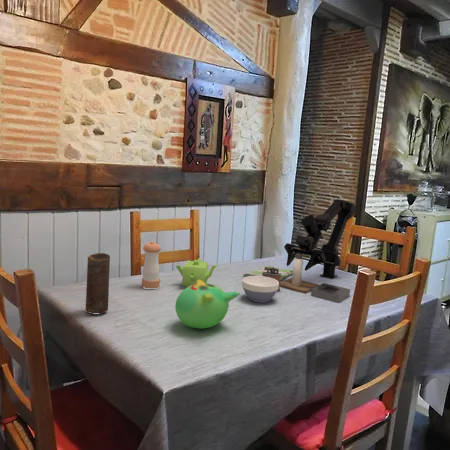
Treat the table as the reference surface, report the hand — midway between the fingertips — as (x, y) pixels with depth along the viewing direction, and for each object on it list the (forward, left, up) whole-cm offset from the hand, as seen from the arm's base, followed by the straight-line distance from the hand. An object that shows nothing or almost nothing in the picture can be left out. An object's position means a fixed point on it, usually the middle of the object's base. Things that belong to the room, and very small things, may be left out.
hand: (296, 267), depth 190 cm
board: (-3, 0, -9) cm, 10 cm away
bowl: (+25, -3, -9) cm, 26 cm away
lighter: (+11, -6, -9) cm, 15 cm away
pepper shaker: (+45, -43, -9) cm, 63 cm away
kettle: (+30, -31, -9) cm, 44 cm away
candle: (+78, -35, -9) cm, 86 cm away
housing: (-1, +16, -9) cm, 19 cm away
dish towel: (-9, -18, -10) cm, 22 cm away
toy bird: (+62, -2, -9) cm, 62 cm away
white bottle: (-1, 0, -8) cm, 8 cm away
